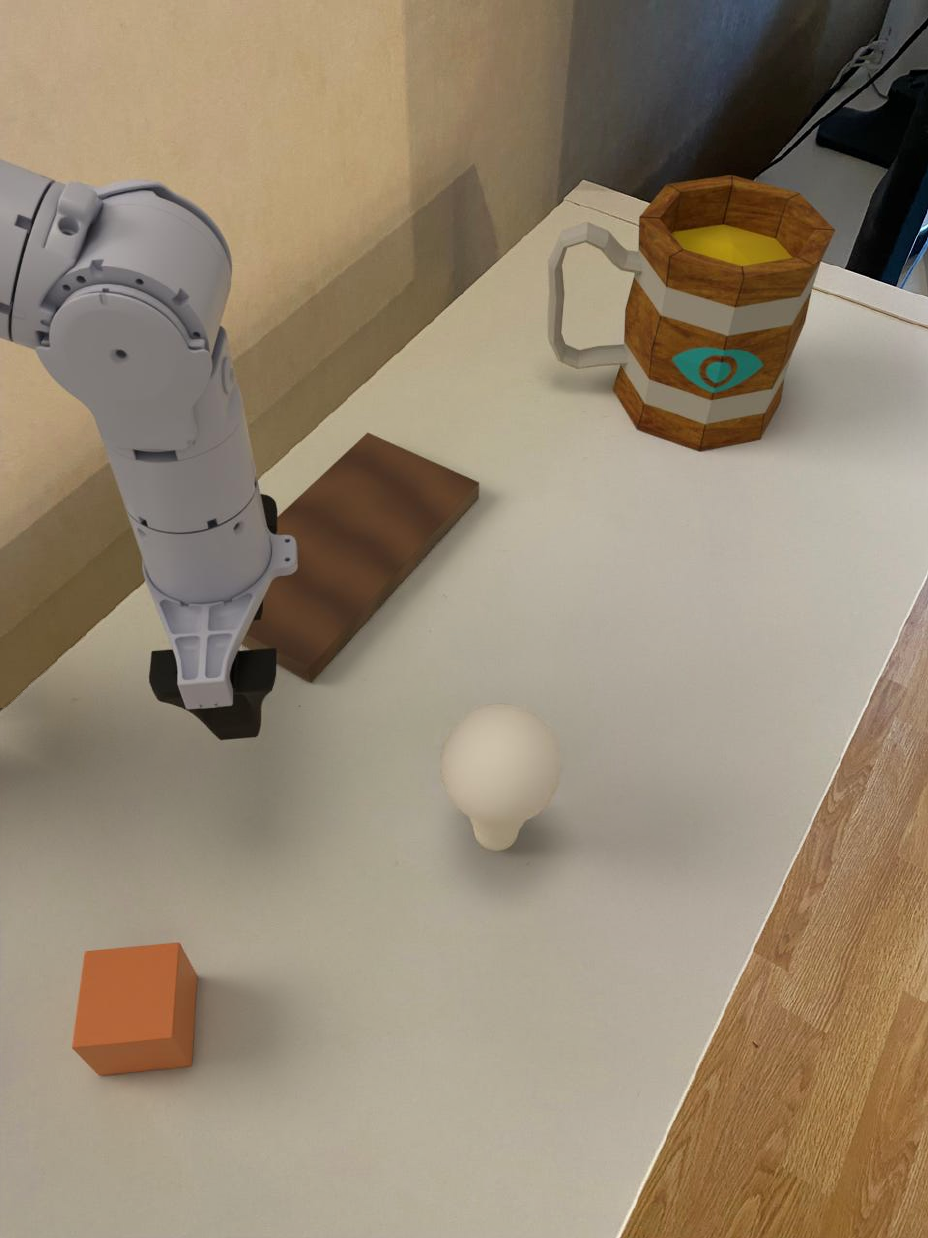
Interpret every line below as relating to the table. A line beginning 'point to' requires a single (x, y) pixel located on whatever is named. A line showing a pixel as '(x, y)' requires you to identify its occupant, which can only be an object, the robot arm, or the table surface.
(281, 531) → the board
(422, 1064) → the table surface
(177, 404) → the robot arm
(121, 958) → the block
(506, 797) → the lightbulb
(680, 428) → the mug
